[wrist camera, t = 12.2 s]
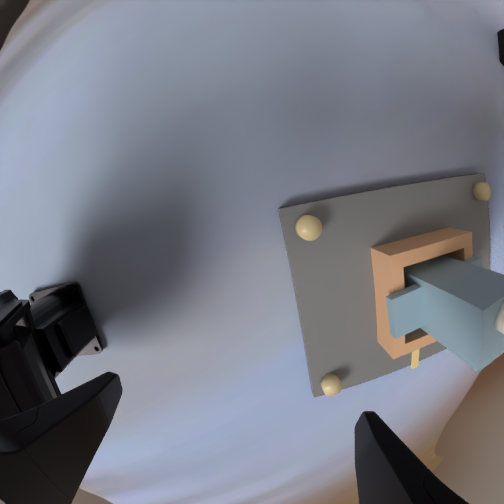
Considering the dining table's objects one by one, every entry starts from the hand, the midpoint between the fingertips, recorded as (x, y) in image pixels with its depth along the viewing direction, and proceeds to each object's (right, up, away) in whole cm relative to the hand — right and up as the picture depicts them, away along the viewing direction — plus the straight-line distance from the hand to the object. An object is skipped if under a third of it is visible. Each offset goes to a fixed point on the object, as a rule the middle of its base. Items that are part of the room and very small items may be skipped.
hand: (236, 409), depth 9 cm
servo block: (+14, +3, +11) cm, 18 cm away
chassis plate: (+14, +3, +13) cm, 19 cm away
